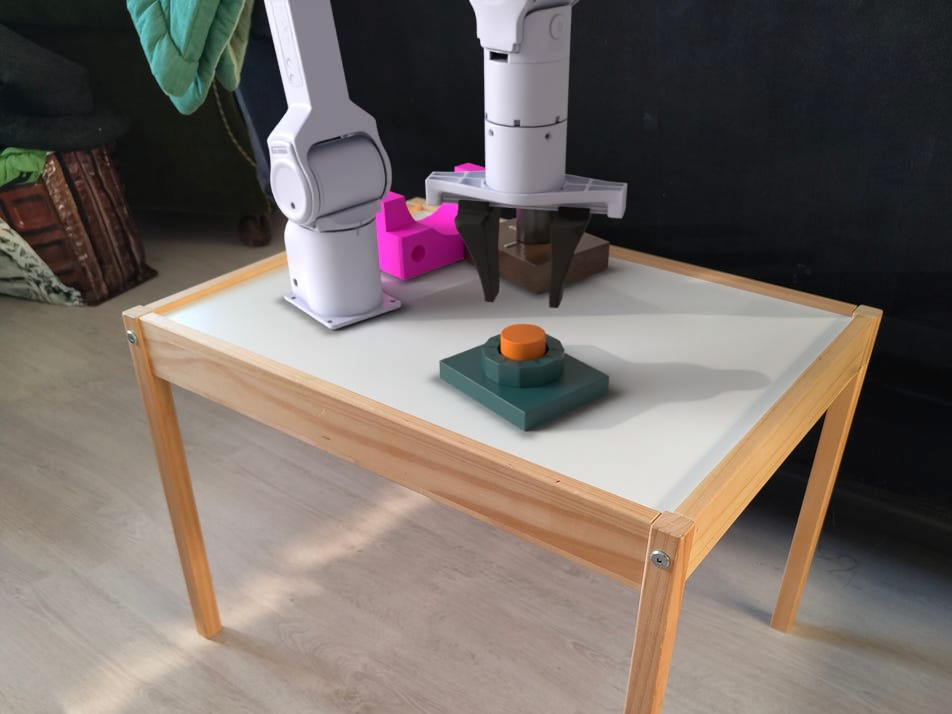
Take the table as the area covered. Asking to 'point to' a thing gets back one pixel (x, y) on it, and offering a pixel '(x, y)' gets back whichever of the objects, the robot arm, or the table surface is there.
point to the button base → (524, 382)
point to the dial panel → (543, 259)
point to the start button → (523, 342)
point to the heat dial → (533, 225)
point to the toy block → (418, 236)
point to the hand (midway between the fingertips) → (523, 299)
